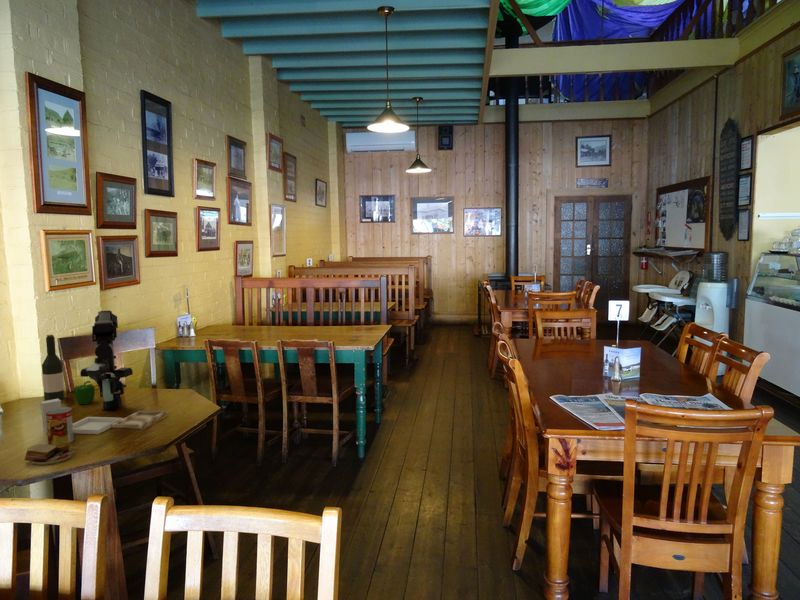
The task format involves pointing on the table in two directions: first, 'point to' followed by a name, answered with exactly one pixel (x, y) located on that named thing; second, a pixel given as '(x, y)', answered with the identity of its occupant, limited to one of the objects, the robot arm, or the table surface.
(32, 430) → the table surface
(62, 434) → the canned food
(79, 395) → the bell pepper
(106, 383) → the pin
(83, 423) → the white rimmed platter
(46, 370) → the wine bottle
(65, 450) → the toy sandwich meal
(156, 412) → the tray
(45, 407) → the skincare box
